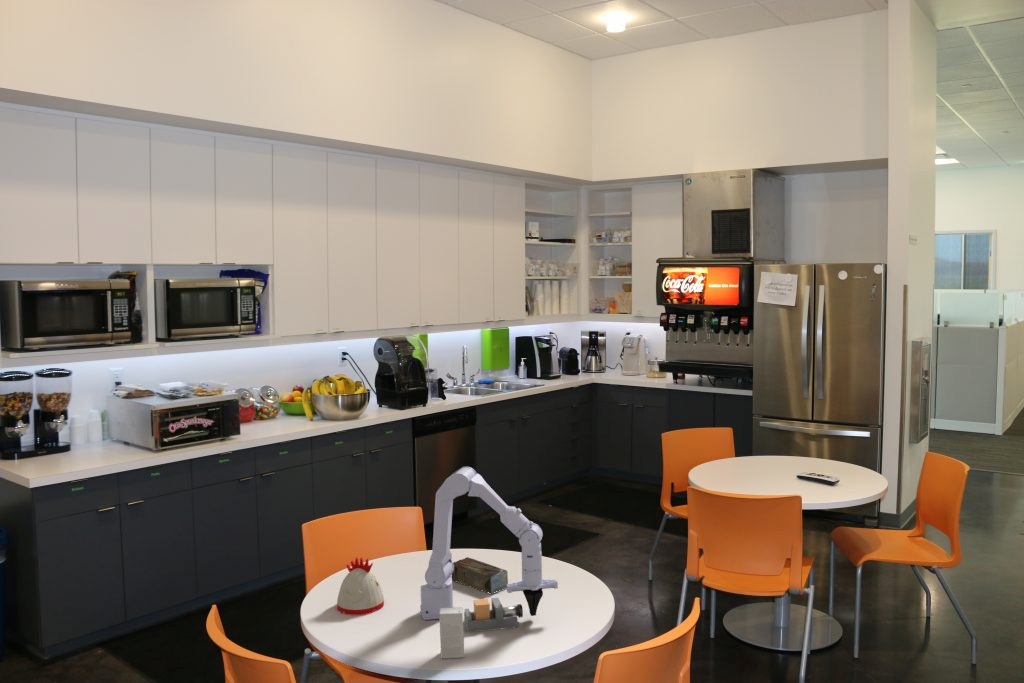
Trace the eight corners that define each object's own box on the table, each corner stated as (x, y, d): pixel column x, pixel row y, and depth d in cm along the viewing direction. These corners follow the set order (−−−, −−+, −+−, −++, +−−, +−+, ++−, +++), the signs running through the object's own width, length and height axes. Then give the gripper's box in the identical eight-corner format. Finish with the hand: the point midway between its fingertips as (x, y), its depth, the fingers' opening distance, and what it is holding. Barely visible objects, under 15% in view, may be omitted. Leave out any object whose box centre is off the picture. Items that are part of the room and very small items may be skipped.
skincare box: (464, 650, 222) (463, 606, 222) (464, 658, 218) (462, 613, 217) (441, 651, 222) (439, 607, 221) (440, 659, 218) (439, 614, 217)
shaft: (498, 621, 238) (498, 609, 238) (496, 616, 241) (496, 604, 241) (522, 619, 239) (522, 606, 239) (520, 614, 243) (520, 602, 242)
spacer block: (476, 626, 236) (475, 605, 236) (474, 620, 240) (473, 600, 240) (490, 624, 237) (489, 604, 237) (488, 619, 241) (487, 598, 241)
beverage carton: (491, 595, 261) (490, 574, 261) (450, 581, 275) (449, 561, 274) (509, 588, 267) (508, 568, 267) (468, 574, 280) (467, 555, 280)
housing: (468, 632, 234) (467, 611, 234) (464, 620, 242) (463, 600, 241) (517, 627, 237) (517, 606, 236) (512, 616, 245) (511, 595, 244)
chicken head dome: (373, 616, 247) (372, 566, 246) (330, 613, 250) (328, 564, 248) (390, 598, 260) (388, 551, 259) (348, 596, 263) (346, 549, 262)
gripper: (509, 575, 235) (510, 622, 236) (560, 570, 238) (560, 617, 239) (504, 566, 242) (506, 612, 243) (553, 562, 245) (554, 607, 246)
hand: (532, 614), depth 242 cm, fingers closed
